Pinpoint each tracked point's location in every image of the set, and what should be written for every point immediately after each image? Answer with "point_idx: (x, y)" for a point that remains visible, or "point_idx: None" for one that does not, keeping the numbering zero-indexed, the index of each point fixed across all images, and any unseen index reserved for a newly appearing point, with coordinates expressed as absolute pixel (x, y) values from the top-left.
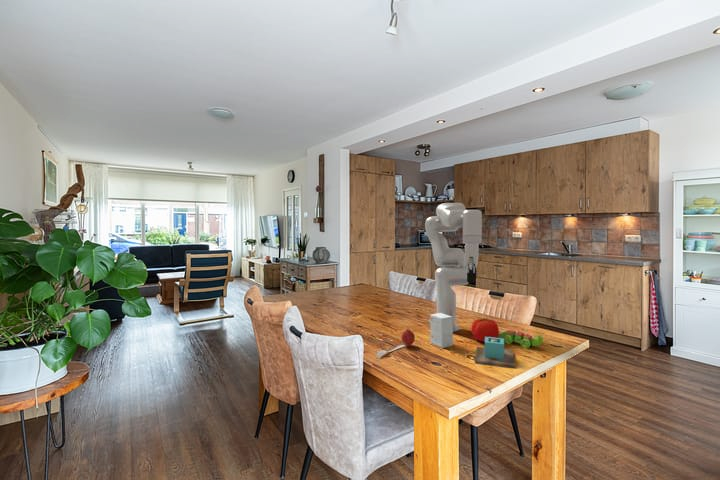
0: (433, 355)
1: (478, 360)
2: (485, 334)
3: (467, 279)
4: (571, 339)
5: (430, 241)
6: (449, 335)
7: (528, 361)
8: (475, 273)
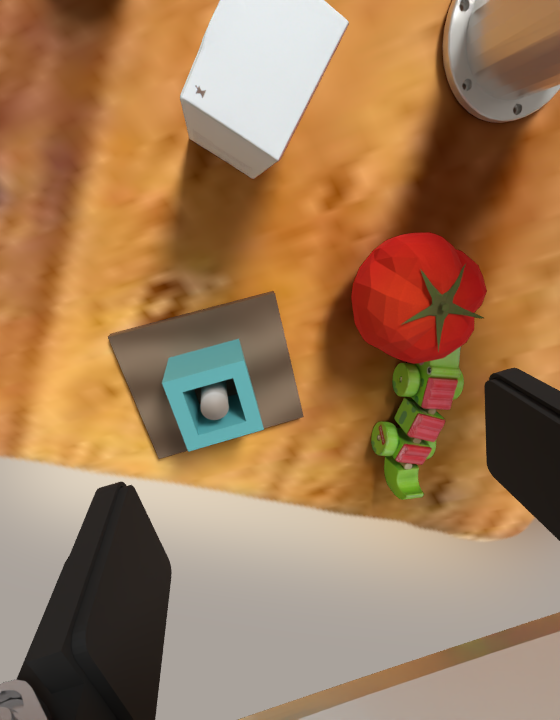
0: (65, 138)
1: (117, 349)
2: (355, 317)
3: (87, 525)
4: (518, 514)
5: None
6: (237, 161)
7: (247, 469)
8: (550, 523)
